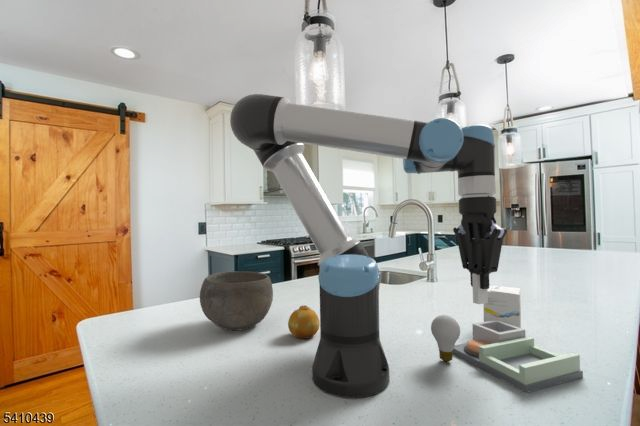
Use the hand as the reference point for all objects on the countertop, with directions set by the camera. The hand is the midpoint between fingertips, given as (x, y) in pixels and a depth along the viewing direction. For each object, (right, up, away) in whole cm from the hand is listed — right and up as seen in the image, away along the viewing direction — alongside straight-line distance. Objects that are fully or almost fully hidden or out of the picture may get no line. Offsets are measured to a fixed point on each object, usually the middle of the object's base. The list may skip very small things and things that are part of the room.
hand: (480, 302), depth 72 cm
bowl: (-60, -14, +24) cm, 66 cm away
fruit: (-40, -13, +15) cm, 45 cm away
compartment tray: (+5, -12, -3) cm, 13 cm away
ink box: (+13, -12, +15) cm, 23 cm away
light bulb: (-8, -12, -2) cm, 15 cm away
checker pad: (0, -10, 0) cm, 10 cm away
